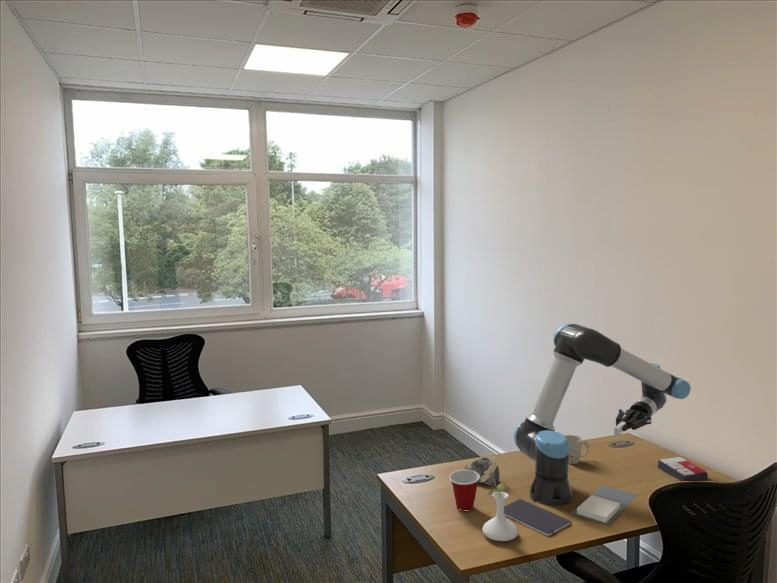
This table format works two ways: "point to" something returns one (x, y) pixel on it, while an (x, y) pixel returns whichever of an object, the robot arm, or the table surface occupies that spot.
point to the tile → (598, 508)
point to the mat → (612, 495)
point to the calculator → (682, 469)
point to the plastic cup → (464, 488)
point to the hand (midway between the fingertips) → (616, 431)
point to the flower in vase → (498, 513)
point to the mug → (575, 448)
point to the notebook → (535, 517)
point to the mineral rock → (481, 467)
